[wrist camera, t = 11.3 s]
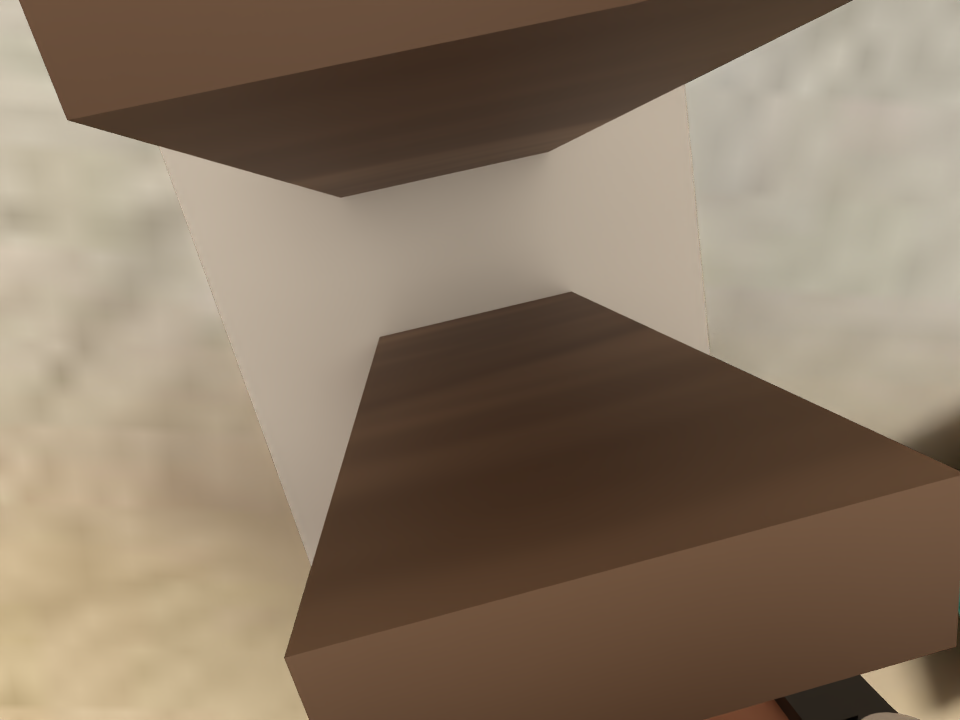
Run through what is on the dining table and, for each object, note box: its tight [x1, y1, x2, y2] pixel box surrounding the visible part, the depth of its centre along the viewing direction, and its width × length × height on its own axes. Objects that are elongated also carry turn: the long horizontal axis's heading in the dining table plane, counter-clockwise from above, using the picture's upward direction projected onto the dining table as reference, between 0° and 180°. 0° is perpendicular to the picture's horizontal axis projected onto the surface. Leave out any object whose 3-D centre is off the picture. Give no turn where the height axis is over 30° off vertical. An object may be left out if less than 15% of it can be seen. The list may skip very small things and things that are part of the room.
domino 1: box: [19, 0, 852, 198], centre depth 7 cm, size 2×5×10 cm, turn 102°
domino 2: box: [284, 291, 960, 720], centre depth 9 cm, size 2×5×10 cm, turn 102°
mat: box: [159, 84, 710, 566], centre depth 15 cm, size 26×12×1 cm, turn 12°
